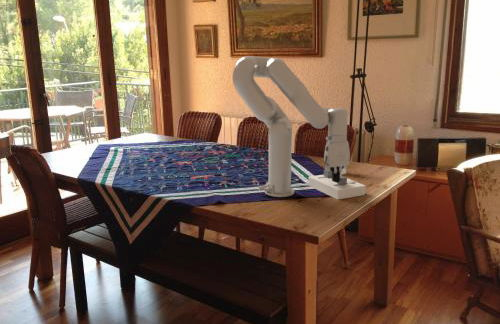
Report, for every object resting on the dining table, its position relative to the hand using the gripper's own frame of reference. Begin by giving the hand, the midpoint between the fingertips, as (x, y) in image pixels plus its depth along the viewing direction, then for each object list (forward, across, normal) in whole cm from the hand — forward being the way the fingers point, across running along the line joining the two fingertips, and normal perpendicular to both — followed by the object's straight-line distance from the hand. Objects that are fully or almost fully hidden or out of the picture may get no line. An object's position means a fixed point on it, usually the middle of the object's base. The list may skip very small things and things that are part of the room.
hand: (335, 181), depth 191 cm
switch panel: (+6, +4, +5) cm, 9 cm away
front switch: (+2, +3, 0) cm, 3 cm away
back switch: (+1, +5, +12) cm, 13 cm away
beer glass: (+6, +22, +26) cm, 35 cm away
